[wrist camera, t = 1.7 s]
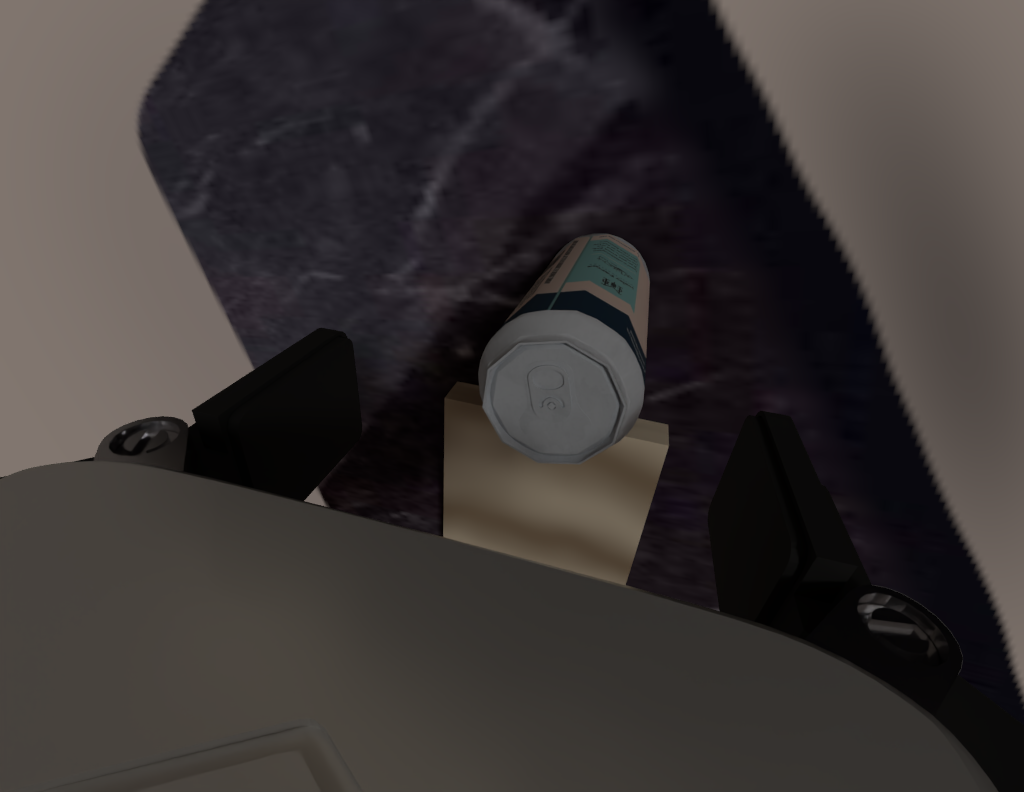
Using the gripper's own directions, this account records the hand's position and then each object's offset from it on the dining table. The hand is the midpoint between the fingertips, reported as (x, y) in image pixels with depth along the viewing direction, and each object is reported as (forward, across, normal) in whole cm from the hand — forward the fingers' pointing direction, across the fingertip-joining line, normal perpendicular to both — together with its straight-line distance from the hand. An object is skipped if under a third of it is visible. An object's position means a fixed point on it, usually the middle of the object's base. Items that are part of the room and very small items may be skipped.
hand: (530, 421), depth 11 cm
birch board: (+13, +1, +17) cm, 21 cm away
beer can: (+14, 0, +1) cm, 14 cm away
